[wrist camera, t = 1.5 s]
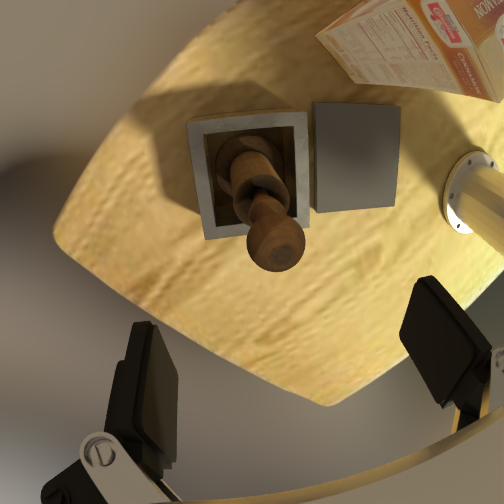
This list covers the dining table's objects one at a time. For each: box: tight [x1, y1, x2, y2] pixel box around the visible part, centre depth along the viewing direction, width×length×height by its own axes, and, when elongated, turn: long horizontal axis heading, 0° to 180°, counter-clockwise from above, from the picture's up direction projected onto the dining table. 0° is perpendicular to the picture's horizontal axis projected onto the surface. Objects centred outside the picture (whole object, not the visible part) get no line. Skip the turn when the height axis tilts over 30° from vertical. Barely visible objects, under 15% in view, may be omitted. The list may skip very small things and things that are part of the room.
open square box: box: [186, 108, 309, 240], centre depth 27 cm, size 10×11×5 cm
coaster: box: [312, 103, 400, 213], centre depth 30 cm, size 10×12×1 cm
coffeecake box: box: [315, 0, 504, 103], centre depth 14 cm, size 15×7×20 cm, turn 134°
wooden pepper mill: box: [215, 133, 305, 272], centre depth 22 cm, size 7×6×18 cm
